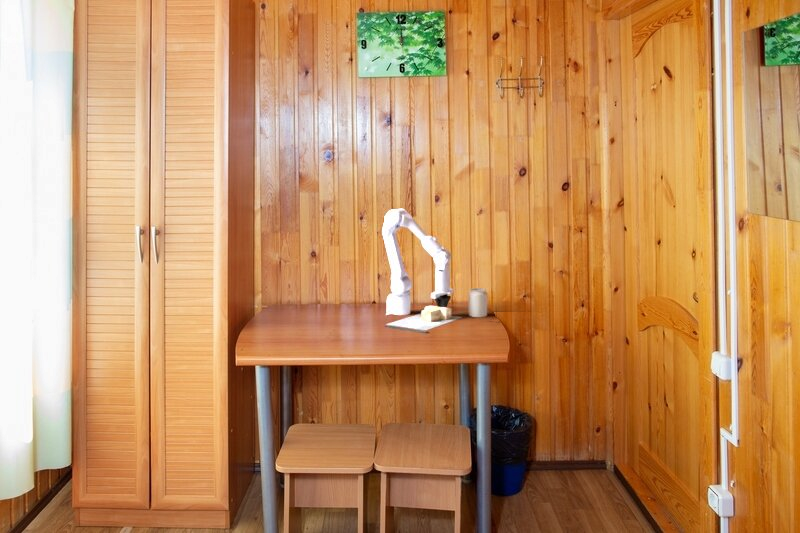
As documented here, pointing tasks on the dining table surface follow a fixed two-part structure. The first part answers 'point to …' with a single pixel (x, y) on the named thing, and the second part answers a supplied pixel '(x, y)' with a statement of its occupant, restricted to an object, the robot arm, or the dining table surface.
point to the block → (435, 313)
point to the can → (478, 302)
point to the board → (419, 323)
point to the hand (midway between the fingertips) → (442, 313)
